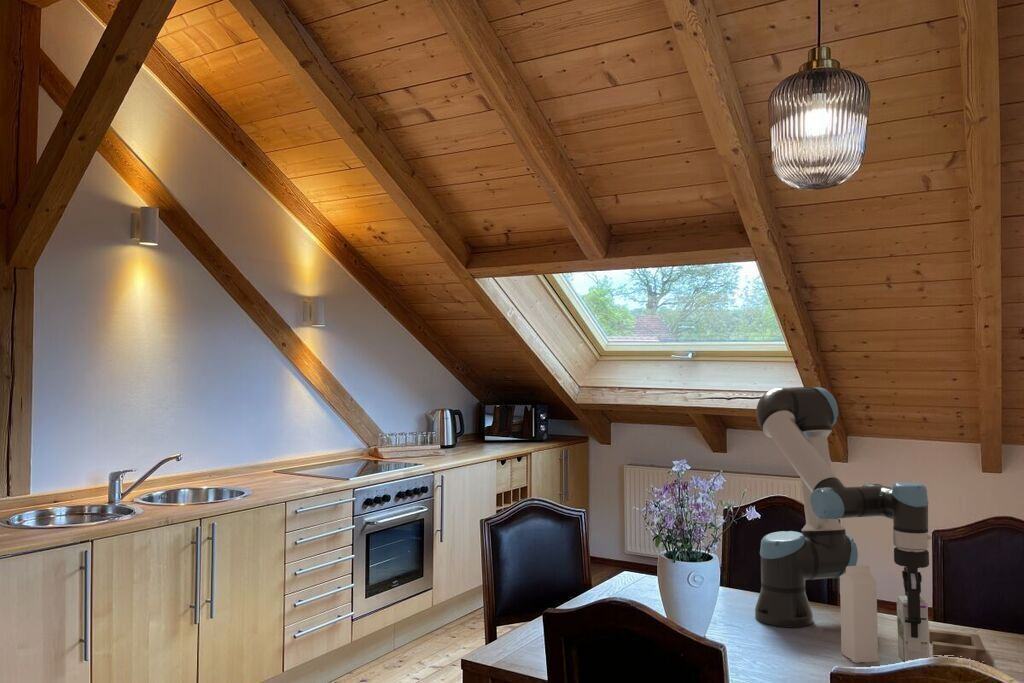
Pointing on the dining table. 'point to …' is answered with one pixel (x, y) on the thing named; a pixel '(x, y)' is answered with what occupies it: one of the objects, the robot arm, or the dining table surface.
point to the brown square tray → (957, 645)
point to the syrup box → (903, 633)
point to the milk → (859, 615)
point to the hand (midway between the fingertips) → (913, 645)
